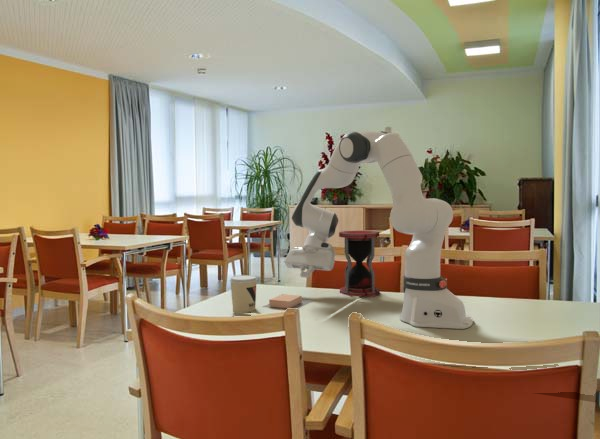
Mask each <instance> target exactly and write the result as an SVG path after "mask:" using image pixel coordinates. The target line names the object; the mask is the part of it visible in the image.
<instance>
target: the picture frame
mask: <svg viewBox="0 0 600 439" xmlns="http://www.w3.org/2000/svg"><path fill="white" fill-rule="evenodd" d="M302 298H303V297H302V295H297V294H296V295H295V294H284V293H283V294H279V295H276V296H274V297H272V298H270V299H269V302H268V304H269V307H279V308H292V307H294V306H296V305H298V304H300V303H302Z"/></svg>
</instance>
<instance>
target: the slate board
mask: <svg viewBox="0 0 600 439" xmlns="http://www.w3.org/2000/svg"><path fill="white" fill-rule="evenodd" d="M312 302H314V299H313V300H312V299H302V303H300V304H298V305H296V306H294V307H292V308H298V309H300V308H302V307H305V306H306V305H309V304H310V303H312ZM262 308H268V309H270V308H271V309H279V310H280V309H281V310H288V309H287V308H279V307H269V303H268V304H265V305H263V306H262Z"/></svg>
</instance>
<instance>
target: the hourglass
mask: <svg viewBox="0 0 600 439" xmlns="http://www.w3.org/2000/svg"><path fill="white" fill-rule="evenodd" d="M338 237H339V238H344V254H345V255H344V256H345V258H346V260H347V264H346V265H345V269H344V286H343V287H341V288H339V294H342V295H345V296H354V297H359V298H372V297H376V296H378V295H380V294H381V293H380V288H378V287H375V285H376V284H375V283H376V282H375V271H374V269H373V265H372V263H373V262H372V261H373V260H374V257H375V238H379V237H380V232H379V231H376V230H344V231H339V232H338ZM351 258H352V259H351ZM352 260H353V261H354V262H355V265H353V263H352ZM365 260H366V266H367V267H368V268H367V267H366V266H365V265H364V264H363V262H364V261H365ZM352 265H353V266H352Z"/></svg>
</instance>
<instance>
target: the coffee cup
mask: <svg viewBox="0 0 600 439" xmlns="http://www.w3.org/2000/svg"><path fill="white" fill-rule="evenodd" d="M229 281H230V292H231V301H232V303H231V304H232V310H233V313H234V314H239V315H245V314H252V313H253V312H252V311H254V310H256V302H257V300H256V299H257V281H258V279H257V276H255V275H250V274H249V275H246V274H244V275H234V276H230V279H229Z"/></svg>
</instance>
